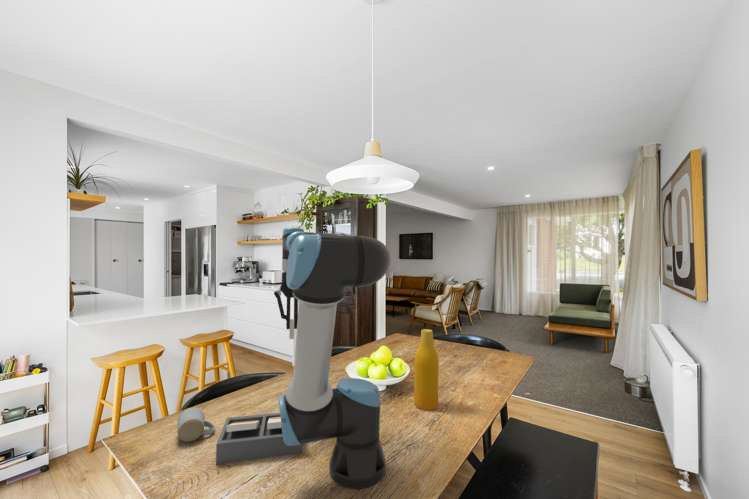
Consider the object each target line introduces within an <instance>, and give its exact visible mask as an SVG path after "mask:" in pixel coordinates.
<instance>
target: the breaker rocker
mask: <svg viewBox="0 0 749 499" xmlns="http://www.w3.org/2000/svg"><path fill="white" fill-rule="evenodd" d="M258 427H259V421H258V420H255V421H245V422H235V423H232V424H229V425H227V430H226V432H231V431H241V430H251V429H257V428H258Z"/></svg>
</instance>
